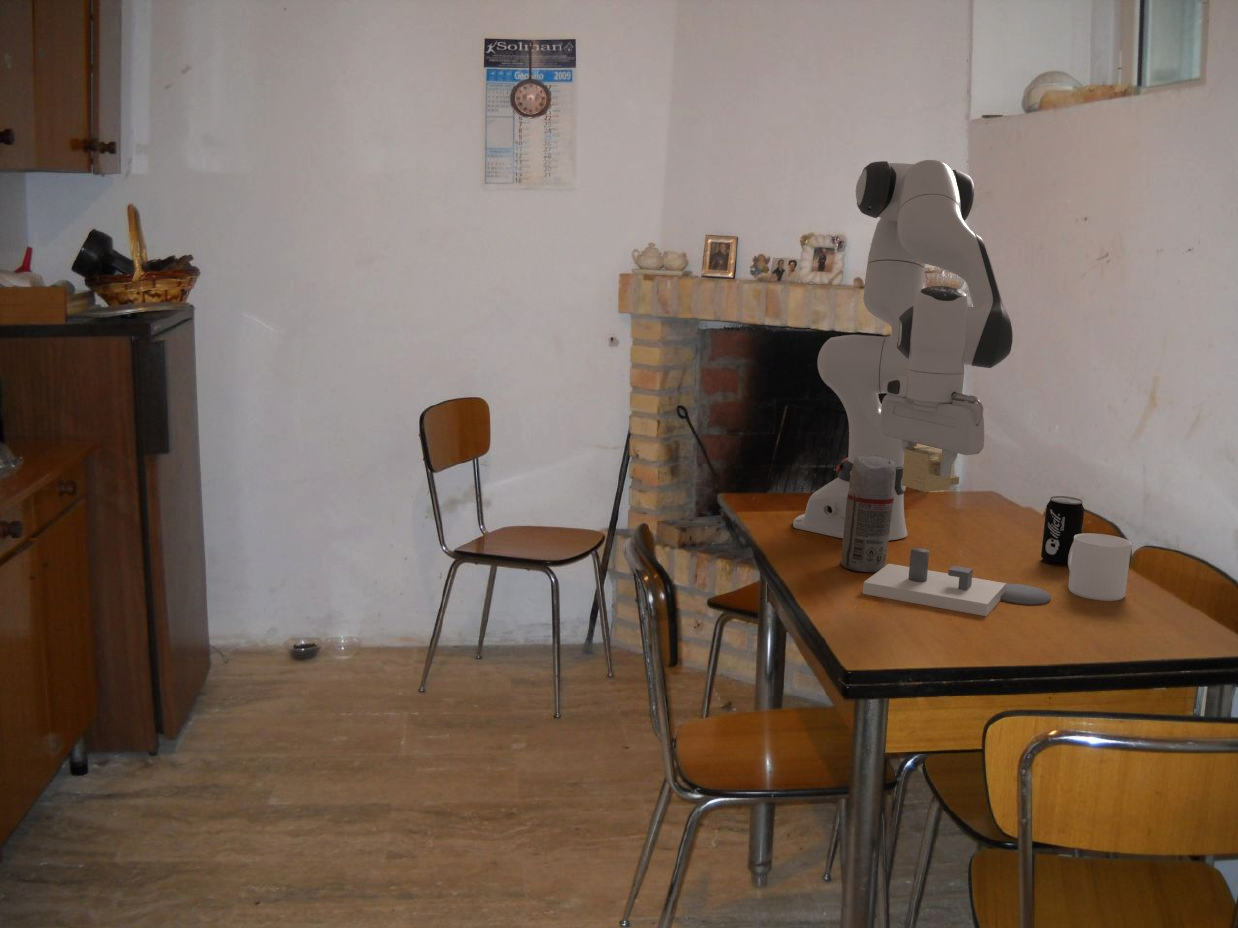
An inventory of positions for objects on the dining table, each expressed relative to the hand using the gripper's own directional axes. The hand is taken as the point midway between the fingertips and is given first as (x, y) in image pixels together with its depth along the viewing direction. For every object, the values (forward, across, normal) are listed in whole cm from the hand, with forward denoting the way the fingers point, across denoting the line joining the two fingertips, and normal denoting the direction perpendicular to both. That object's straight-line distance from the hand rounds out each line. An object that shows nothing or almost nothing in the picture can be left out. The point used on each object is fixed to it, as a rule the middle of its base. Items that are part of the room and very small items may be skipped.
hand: (926, 472), depth 197 cm
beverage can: (+21, +3, -39) cm, 44 cm away
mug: (+21, -12, -29) cm, 38 cm away
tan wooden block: (+2, 0, -2) cm, 3 cm away
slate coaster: (+20, -9, -14) cm, 26 cm away
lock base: (+20, -3, -1) cm, 20 cm away
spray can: (+21, +15, -2) cm, 25 cm away
